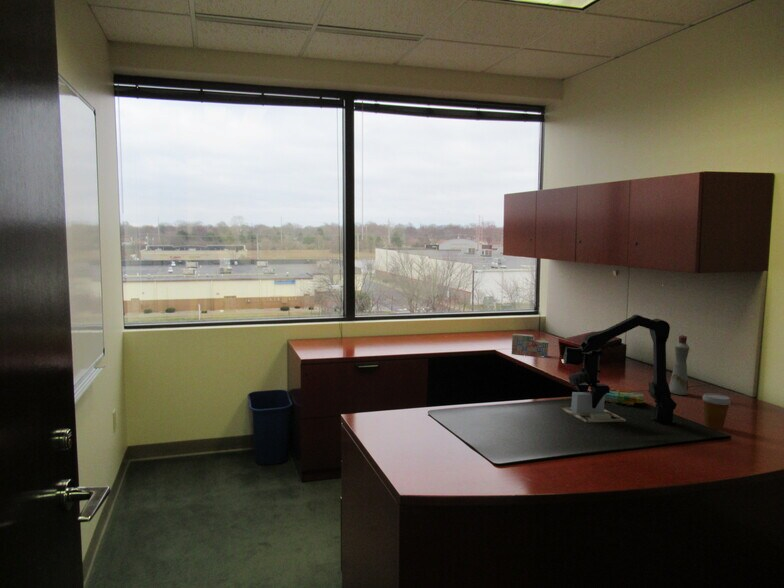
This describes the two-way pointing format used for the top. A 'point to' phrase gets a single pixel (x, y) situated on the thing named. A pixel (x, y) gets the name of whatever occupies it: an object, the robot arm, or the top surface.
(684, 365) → the bottle
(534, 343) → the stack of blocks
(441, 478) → the top surface
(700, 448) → the top surface
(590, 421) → the frame
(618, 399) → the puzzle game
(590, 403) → the light grey block
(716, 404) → the disposable coffee cup
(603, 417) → the offcut upper
